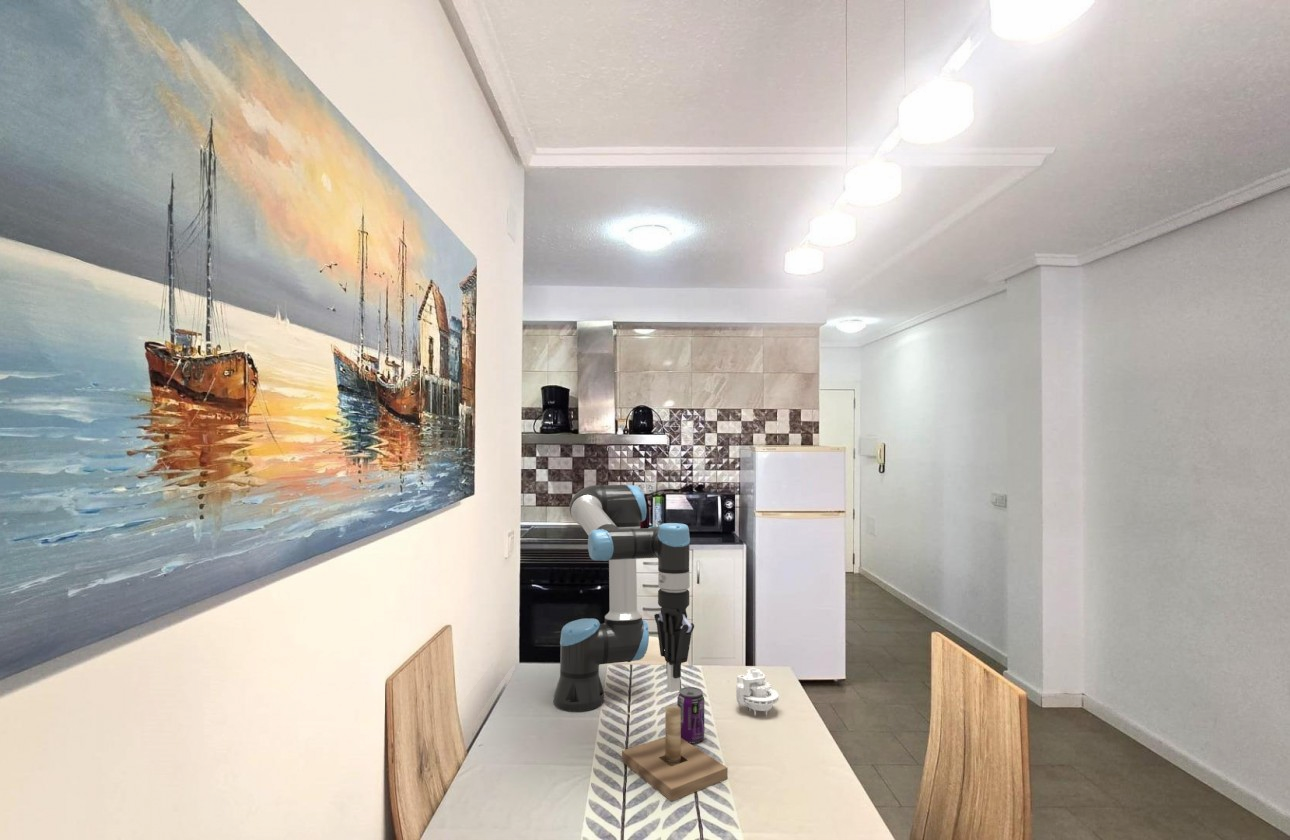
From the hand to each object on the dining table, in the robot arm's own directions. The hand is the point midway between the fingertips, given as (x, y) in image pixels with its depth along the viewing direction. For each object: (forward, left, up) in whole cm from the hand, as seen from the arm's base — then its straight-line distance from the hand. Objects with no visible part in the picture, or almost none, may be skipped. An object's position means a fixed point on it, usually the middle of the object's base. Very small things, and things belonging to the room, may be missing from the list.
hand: (673, 690), depth 139 cm
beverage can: (-10, +13, -18) cm, 25 cm away
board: (0, 0, -18) cm, 18 cm away
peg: (0, 0, -18) cm, 18 cm away
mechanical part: (-12, +40, -18) cm, 46 cm away
